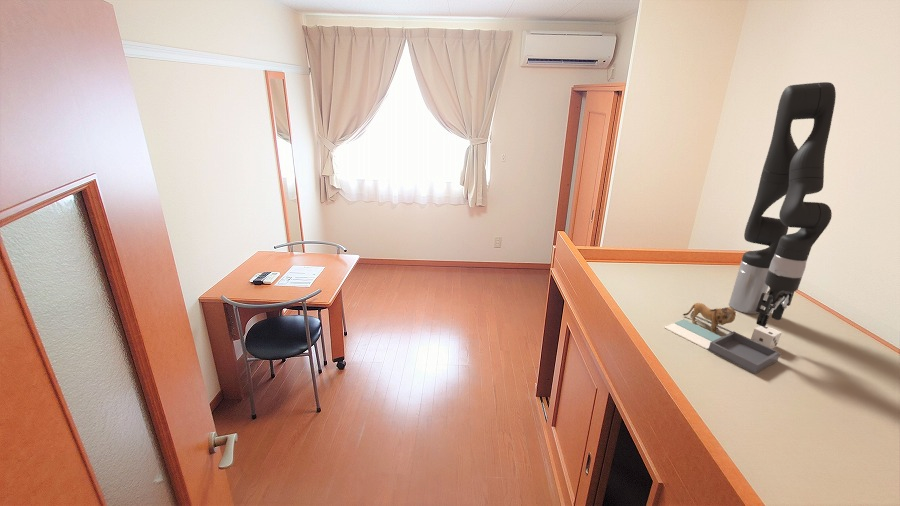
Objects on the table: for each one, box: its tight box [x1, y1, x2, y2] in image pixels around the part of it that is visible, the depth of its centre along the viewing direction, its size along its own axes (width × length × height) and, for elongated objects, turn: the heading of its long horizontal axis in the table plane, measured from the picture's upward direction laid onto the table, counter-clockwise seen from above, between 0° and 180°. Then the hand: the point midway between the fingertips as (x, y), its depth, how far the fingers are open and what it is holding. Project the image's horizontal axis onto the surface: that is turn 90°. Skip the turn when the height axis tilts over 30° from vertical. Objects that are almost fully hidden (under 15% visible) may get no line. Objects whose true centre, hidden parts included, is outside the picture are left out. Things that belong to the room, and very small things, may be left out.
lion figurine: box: [682, 302, 737, 334], centre depth 129 cm, size 15×5×9 cm, turn 35°
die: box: [750, 325, 782, 349], centre depth 120 cm, size 5×5×5 cm
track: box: [663, 315, 733, 350], centre depth 127 cm, size 17×14×1 cm
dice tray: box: [707, 331, 781, 375], centre depth 115 cm, size 12×12×3 cm
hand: (768, 322), depth 118 cm, fingers open, 8 cm apart
